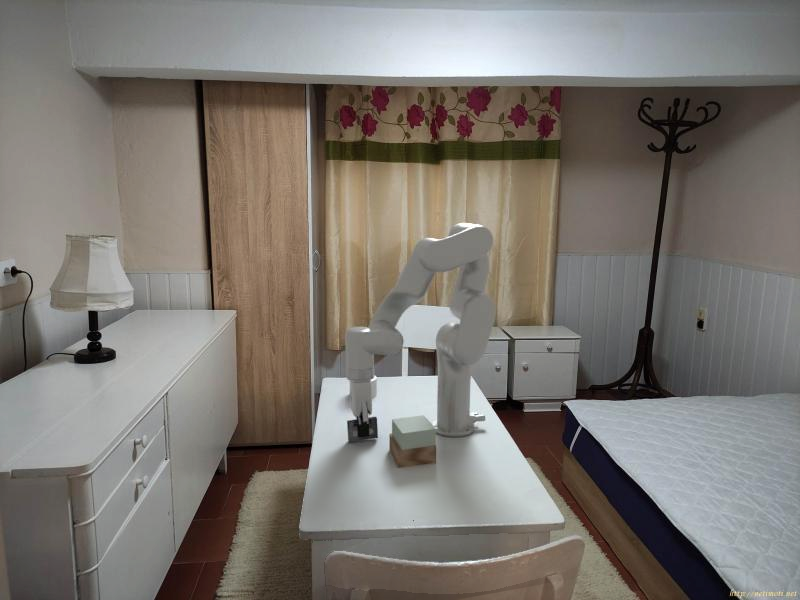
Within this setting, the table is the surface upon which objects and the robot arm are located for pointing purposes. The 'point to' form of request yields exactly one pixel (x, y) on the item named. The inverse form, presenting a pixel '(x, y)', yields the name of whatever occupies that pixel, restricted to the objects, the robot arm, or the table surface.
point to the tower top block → (413, 432)
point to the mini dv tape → (354, 432)
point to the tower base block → (412, 454)
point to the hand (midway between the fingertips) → (362, 434)
